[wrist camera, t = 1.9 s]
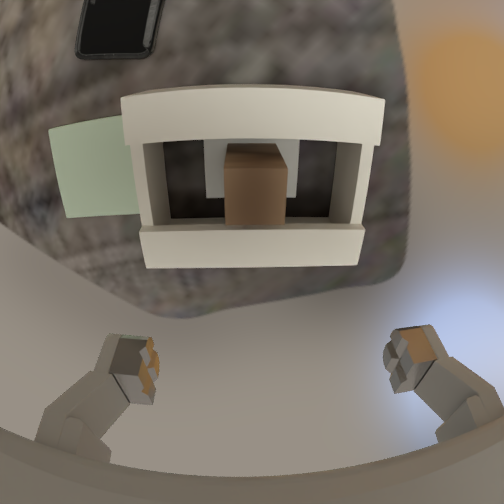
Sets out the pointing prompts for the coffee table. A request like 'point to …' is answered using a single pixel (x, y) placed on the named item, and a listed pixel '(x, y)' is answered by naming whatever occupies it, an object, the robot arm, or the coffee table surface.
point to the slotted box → (215, 145)
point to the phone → (118, 29)
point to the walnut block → (254, 184)
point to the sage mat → (94, 168)
